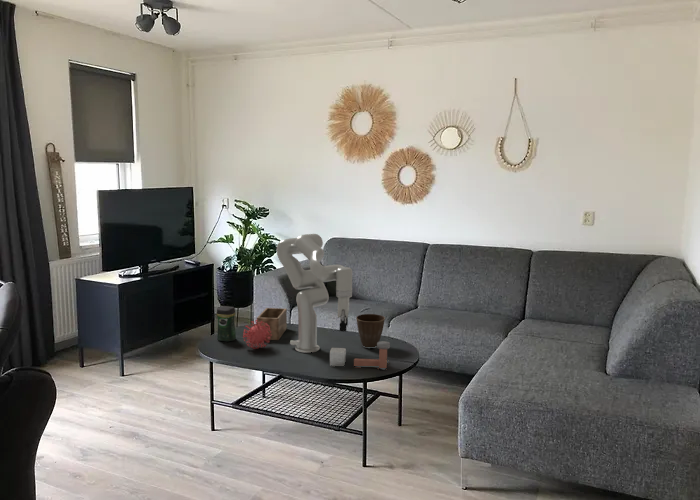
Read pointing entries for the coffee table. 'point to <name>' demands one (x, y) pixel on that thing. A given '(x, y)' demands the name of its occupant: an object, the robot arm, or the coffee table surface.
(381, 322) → the plant pot
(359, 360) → the brown mallet
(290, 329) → the coffee table surface
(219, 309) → the coffee jar
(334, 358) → the block
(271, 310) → the wooden crate
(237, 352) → the coffee table surface
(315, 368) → the coffee table surface
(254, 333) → the virus model
